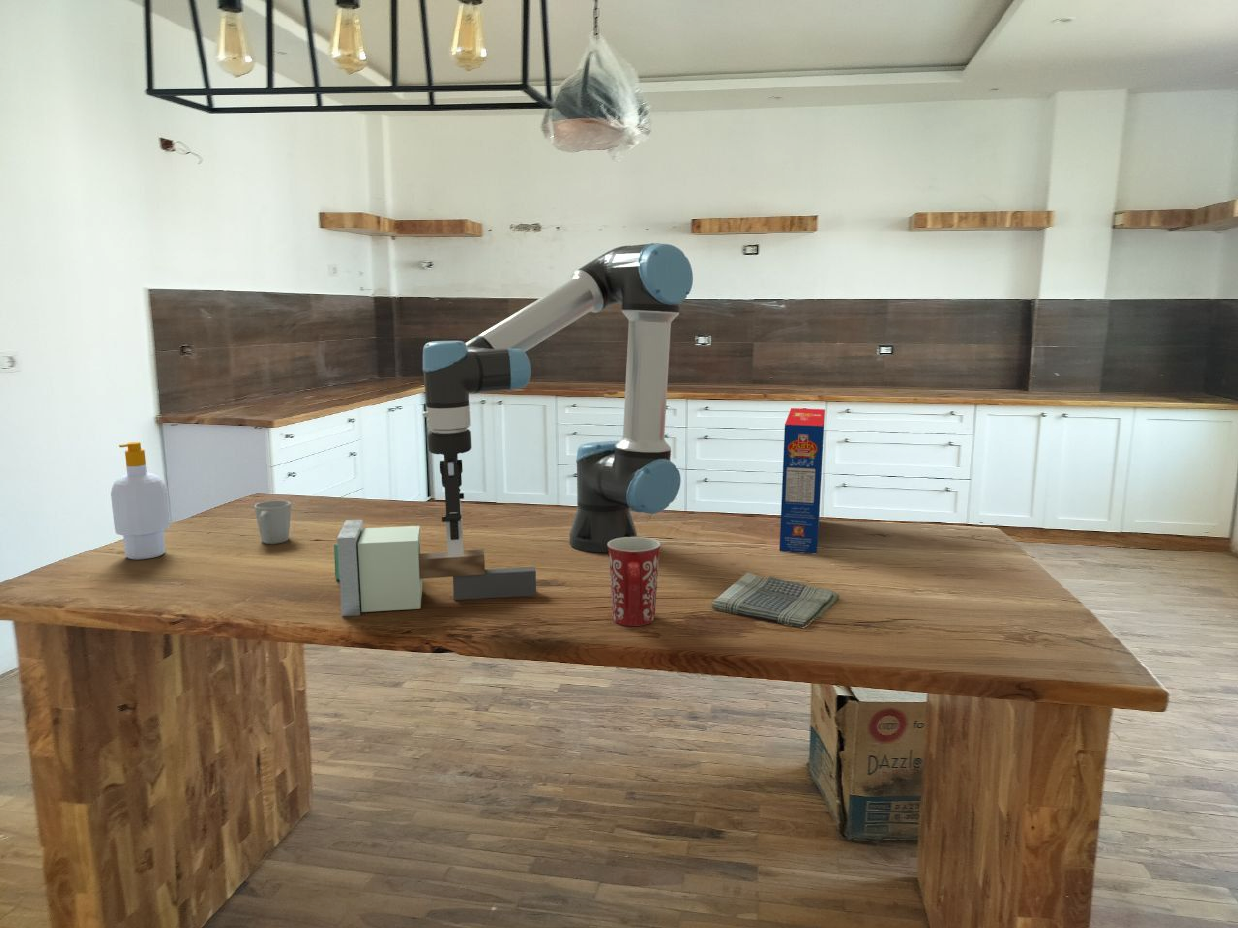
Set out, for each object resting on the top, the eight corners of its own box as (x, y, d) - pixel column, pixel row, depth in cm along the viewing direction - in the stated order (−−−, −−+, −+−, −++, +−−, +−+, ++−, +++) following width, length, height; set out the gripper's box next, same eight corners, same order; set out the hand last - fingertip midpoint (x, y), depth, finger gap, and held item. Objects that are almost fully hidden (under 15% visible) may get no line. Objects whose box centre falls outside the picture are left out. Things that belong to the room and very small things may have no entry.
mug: (608, 608, 152) (608, 535, 149) (659, 609, 151) (660, 536, 149) (603, 636, 139) (603, 557, 137) (659, 637, 139) (660, 558, 136)
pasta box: (786, 519, 213) (791, 408, 208) (819, 521, 211) (825, 409, 206) (779, 551, 186) (784, 424, 181) (816, 553, 185) (823, 426, 179)
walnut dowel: (484, 568, 158) (483, 549, 158) (485, 574, 155) (484, 555, 154) (395, 574, 156) (394, 555, 155) (394, 580, 152) (393, 561, 151)
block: (422, 589, 160) (419, 525, 158) (420, 608, 151) (417, 540, 148) (367, 592, 158) (363, 528, 156) (361, 611, 149) (357, 543, 146)
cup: (299, 536, 196) (296, 500, 194) (280, 549, 186) (277, 511, 184) (266, 535, 196) (263, 499, 195) (245, 548, 186) (242, 510, 185)
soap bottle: (106, 558, 178) (93, 445, 174) (149, 545, 188) (138, 437, 183) (141, 564, 175) (129, 448, 170) (184, 551, 184) (173, 440, 179)
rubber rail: (534, 590, 161) (534, 566, 160) (536, 595, 158) (535, 570, 157) (453, 595, 158) (452, 571, 157) (453, 600, 155) (452, 575, 155)
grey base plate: (366, 591, 159) (362, 519, 157) (359, 615, 148) (355, 537, 145) (349, 592, 159) (345, 520, 156) (341, 616, 147) (336, 538, 145)
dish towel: (805, 633, 142) (806, 614, 142) (709, 611, 152) (709, 594, 151) (841, 600, 158) (842, 583, 157) (751, 583, 167) (752, 567, 167)
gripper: (429, 419, 162) (436, 527, 166) (424, 443, 138) (433, 568, 142) (469, 417, 163) (474, 524, 168) (472, 440, 139) (478, 564, 144)
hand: (455, 544), depth 155 cm, fingers open, 13 cm apart
